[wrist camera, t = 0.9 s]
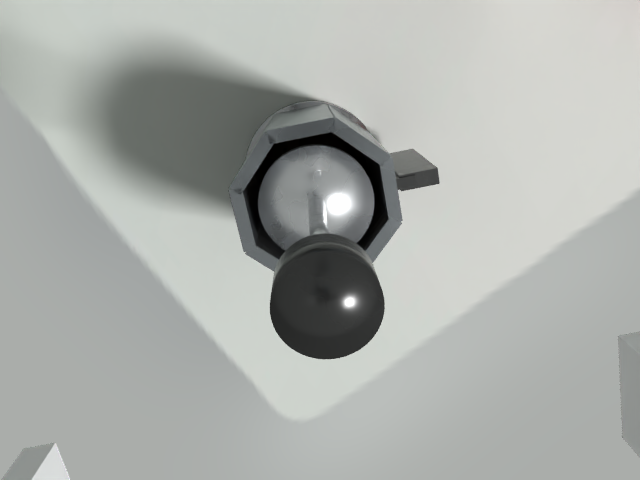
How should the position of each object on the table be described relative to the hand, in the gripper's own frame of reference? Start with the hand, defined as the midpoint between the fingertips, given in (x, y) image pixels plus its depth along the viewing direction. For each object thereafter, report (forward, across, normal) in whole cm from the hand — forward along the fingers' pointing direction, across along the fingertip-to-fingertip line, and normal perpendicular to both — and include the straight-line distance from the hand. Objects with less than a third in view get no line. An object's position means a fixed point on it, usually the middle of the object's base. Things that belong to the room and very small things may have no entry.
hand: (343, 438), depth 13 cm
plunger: (+23, 0, 0) cm, 23 cm away
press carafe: (+34, +1, 0) cm, 34 cm away
